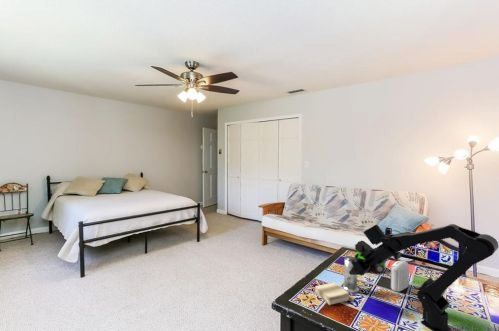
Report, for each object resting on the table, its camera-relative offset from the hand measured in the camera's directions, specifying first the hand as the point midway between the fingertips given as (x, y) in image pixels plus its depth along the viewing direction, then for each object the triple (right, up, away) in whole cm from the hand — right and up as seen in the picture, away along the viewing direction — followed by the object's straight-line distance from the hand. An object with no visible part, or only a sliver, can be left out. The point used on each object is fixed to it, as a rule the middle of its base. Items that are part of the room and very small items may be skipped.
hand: (355, 270), depth 113 cm
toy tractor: (+17, -9, +23) cm, 30 cm away
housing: (-1, -9, +2) cm, 10 cm away
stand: (-12, -10, -4) cm, 16 cm away
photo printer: (+22, -9, +3) cm, 24 cm away
